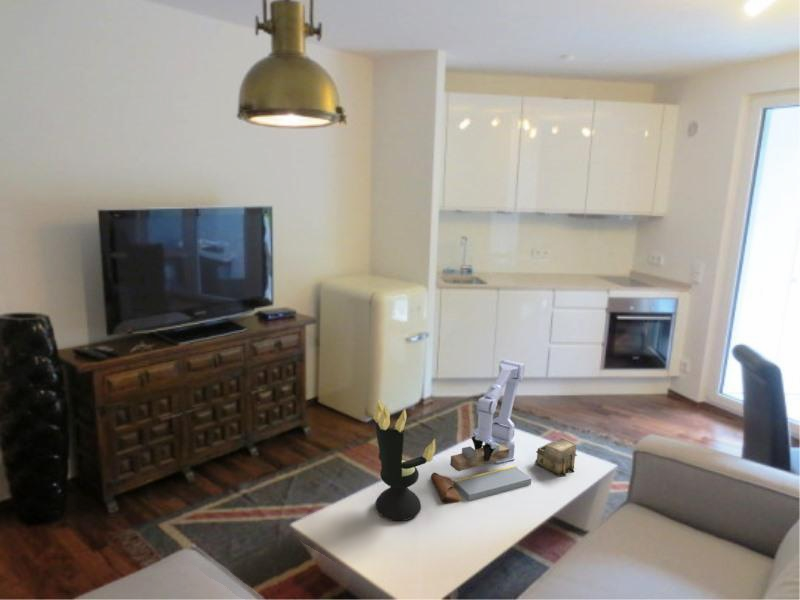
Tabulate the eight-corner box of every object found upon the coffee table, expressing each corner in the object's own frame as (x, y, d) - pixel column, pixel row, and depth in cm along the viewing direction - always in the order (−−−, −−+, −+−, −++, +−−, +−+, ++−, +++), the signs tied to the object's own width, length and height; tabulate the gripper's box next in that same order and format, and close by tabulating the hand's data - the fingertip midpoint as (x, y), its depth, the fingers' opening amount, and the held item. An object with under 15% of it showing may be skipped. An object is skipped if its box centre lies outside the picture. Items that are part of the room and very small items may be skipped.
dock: (513, 471, 234) (514, 465, 233) (530, 484, 225) (531, 478, 224) (453, 486, 221) (454, 480, 220) (469, 500, 211) (469, 494, 211)
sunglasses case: (464, 501, 210) (457, 489, 208) (449, 511, 210) (441, 499, 208) (449, 477, 227) (442, 465, 225) (435, 486, 227) (428, 474, 225)
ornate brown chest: (580, 468, 239) (583, 444, 236) (561, 478, 230) (564, 453, 228) (551, 454, 250) (553, 431, 248) (531, 463, 241) (534, 439, 239)
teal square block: (492, 445, 233) (492, 440, 232) (498, 450, 229) (499, 445, 228) (484, 447, 231) (485, 442, 230) (491, 452, 227) (491, 446, 226)
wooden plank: (499, 451, 236) (500, 442, 236) (508, 457, 232) (509, 448, 231) (450, 465, 223) (450, 456, 222) (458, 471, 219) (459, 462, 218)
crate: (469, 451, 227) (470, 446, 226) (476, 456, 223) (476, 451, 222) (461, 453, 225) (462, 448, 224) (467, 458, 221) (468, 453, 220)
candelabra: (433, 507, 206) (440, 394, 196) (399, 537, 188) (405, 414, 178) (392, 490, 216) (396, 381, 206) (356, 517, 198) (359, 399, 188)
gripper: (466, 420, 229) (464, 450, 232) (487, 435, 217) (484, 467, 220) (480, 417, 232) (478, 447, 235) (501, 432, 220) (499, 463, 223)
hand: (482, 456), depth 228 cm, fingers closed on wooden plank, 6 cm apart
